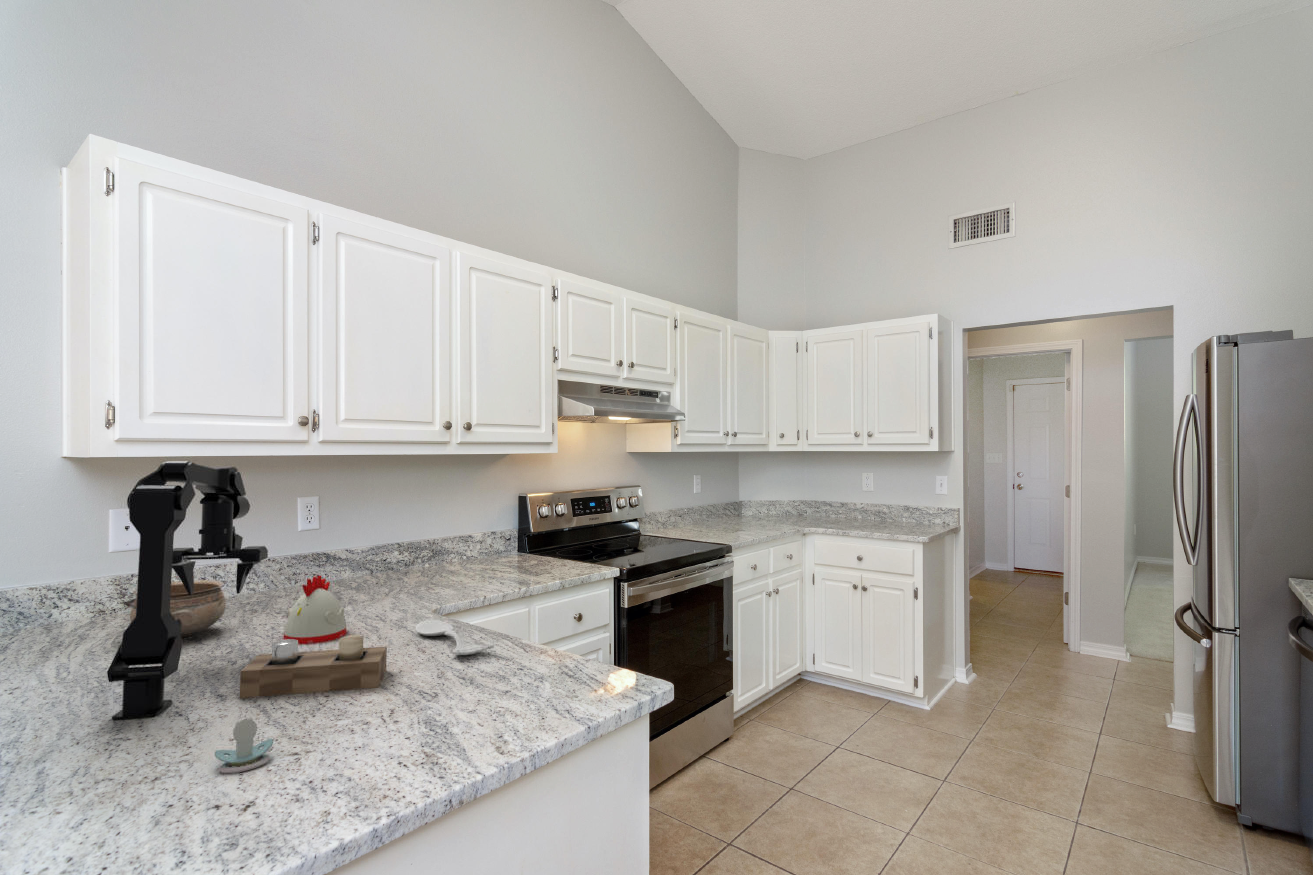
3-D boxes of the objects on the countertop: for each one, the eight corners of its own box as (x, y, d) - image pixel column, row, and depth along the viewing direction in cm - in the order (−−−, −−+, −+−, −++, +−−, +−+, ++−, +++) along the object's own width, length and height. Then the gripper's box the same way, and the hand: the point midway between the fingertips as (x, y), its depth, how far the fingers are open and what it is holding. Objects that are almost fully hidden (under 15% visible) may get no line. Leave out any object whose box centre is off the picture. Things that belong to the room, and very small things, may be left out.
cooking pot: (130, 631, 159) (132, 583, 159) (220, 620, 171) (222, 575, 171) (127, 657, 140) (129, 602, 140) (229, 642, 151) (231, 591, 152)
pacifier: (274, 767, 92) (271, 749, 97) (275, 724, 92) (273, 709, 97) (213, 781, 88) (214, 762, 93) (215, 737, 88) (215, 720, 93)
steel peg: (293, 669, 122) (294, 644, 122) (268, 670, 121) (268, 646, 121) (300, 661, 127) (300, 638, 127) (275, 663, 125) (276, 639, 126)
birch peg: (360, 664, 125) (361, 640, 126) (336, 666, 124) (337, 642, 124) (364, 657, 130) (365, 634, 130) (341, 659, 129) (341, 636, 129)
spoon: (456, 665, 137) (457, 649, 138) (410, 632, 162) (410, 619, 162) (495, 657, 143) (495, 642, 143) (444, 626, 168) (444, 613, 168)
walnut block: (378, 687, 124) (378, 661, 124) (239, 697, 117) (240, 671, 118) (386, 670, 133) (386, 646, 133) (258, 679, 127) (259, 654, 127)
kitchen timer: (269, 641, 153) (271, 579, 153) (313, 626, 166) (314, 569, 166) (317, 646, 149) (319, 582, 150) (358, 630, 163) (359, 572, 163)
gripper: (276, 519, 149) (274, 585, 148) (186, 520, 144) (184, 588, 144) (259, 524, 138) (257, 595, 138) (161, 525, 134) (158, 599, 133)
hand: (215, 594), depth 138 cm, fingers open, 9 cm apart
